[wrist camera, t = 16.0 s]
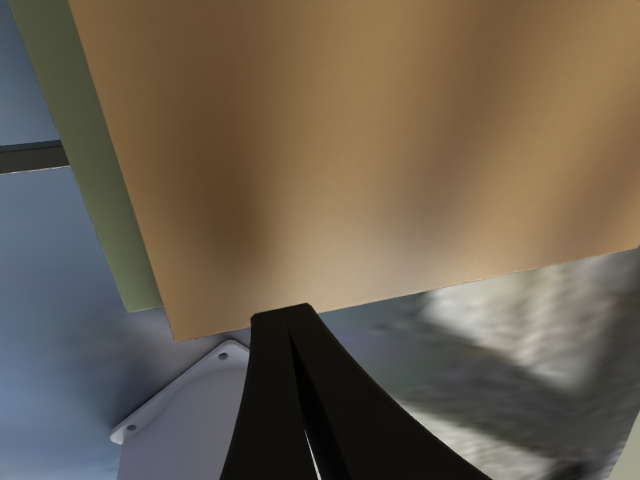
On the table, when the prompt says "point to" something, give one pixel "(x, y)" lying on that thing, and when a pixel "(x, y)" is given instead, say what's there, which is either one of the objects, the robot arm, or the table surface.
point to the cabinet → (365, 143)
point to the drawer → (81, 145)
